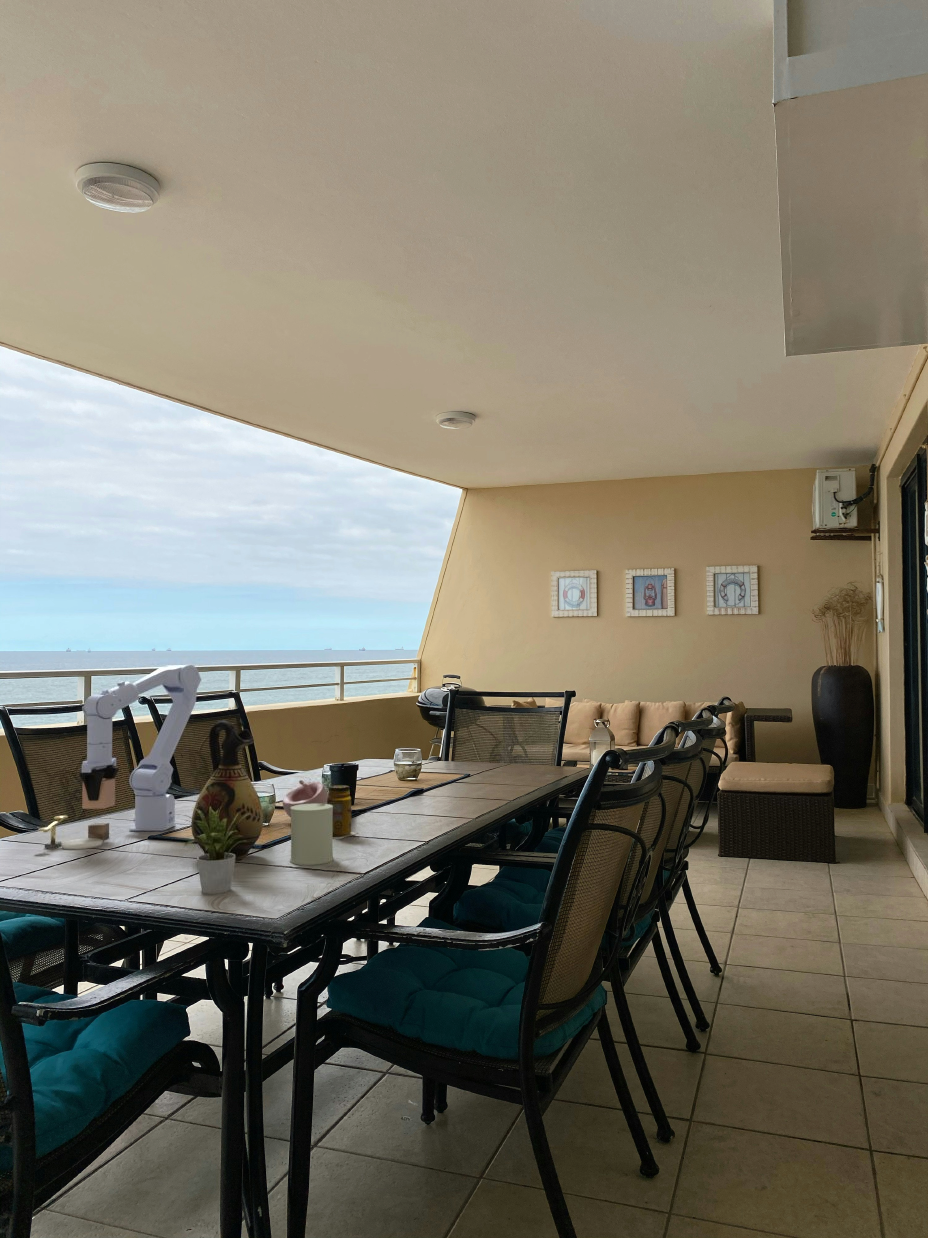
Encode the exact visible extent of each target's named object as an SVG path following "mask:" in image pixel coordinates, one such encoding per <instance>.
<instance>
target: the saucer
mask: <svg viewBox="0 0 928 1238" xmlns="http://www.w3.org/2000/svg"><path fill="white" fill-rule="evenodd" d="M103 841H104V840H102V839H96V838H88V837H87V838H76V839H71V840H66V841H63V842H61V846H60V847H62V848H61V849H63V848H64V849H63V850H84V849H86V850H87V849H92V848H98V847H100V846H102V845H103V843H104V842H103Z"/></svg>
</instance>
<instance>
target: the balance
mask: <svg viewBox="0 0 928 1238" xmlns="http://www.w3.org/2000/svg"><path fill="white" fill-rule="evenodd" d="M68 817H69V816H68V815H56V816H53V820H55V821H53V822H52V823H50V824H49V825H48V826H45V827H41V828H40V827H39V828H38V832H43V833H48V832H50V841H49V842H46V843H45V844H44V849H45V848H47V849H48V848H55V849H57V848H59V847H58V846H60V847H61V843H62V841H56V835H57V833H56V828H57V827H56V826H57V825H58V824H60V823H61V822H63V820H64V819H65V820H66V819H68ZM56 847H57V848H56Z"/></svg>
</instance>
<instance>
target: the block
mask: <svg viewBox="0 0 928 1238" xmlns="http://www.w3.org/2000/svg"><path fill="white" fill-rule="evenodd" d="M87 838H96V839H102V840H103V841H104V840H106V839H108V838H110V822H93V823H91V824H89V825H87Z"/></svg>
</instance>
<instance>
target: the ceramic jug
mask: <svg viewBox="0 0 928 1238" xmlns="http://www.w3.org/2000/svg"><path fill="white" fill-rule="evenodd" d="M222 731H224V733H225V737H224V739H223V741H222V743H221V744H220V734H221V732H222ZM254 741H255V740H254V737H253V734H252V732H251V731H249V729H247V728H244V729H242V730H241V731H239V732H238V731H237V728H236V727H235V725H234V723H233V722H230V721H228V720H224V719H223V720H219V721H217V722H215V723H214V724H213V725H212V726H211V728H210V729H209V732H208V747H209V752H210V758H211V759H210V760H211V764H212V772H211V775H210V777H209V779H208V780H207V781H206V783H205V785H204V787H203V788H202V790H201V792H200V793H199V795H198V797H197V799H196V802H195V804H194V807H193V810H192V815H191V818H193V819H194V820H195V821H196V822H197V821H202V819H201V816H200V814H199V813H198V811H197V810H196V809H198V810H200V811H201V812H202V813H203V815H204V816H205V819H206V822H207V824H208V827H209V829H210V823H209V808H210V807H211V809H212V810H213V811H214V812H216V811H217V810H218V809H219V810H220V812H219V810H218V812H219V820H220V822H221V821H222V820H223V819H225V818H227V821H226V830H225V834H224V836H225V835H226V832H227V830H228V828H229V827H230V825H231V823H232V821H233V820H234V818H235V817H236V815H237V814H238V813H239V814H238V815H237V817H236V819H235V821H234V823H233V824H232V826H231V828H230V829H229V832H230V831H231V830H232V831H234V832H232V833H231V834H230V835H229V836H228V838H227V840H226V842H227V841H228V840H229V839H230V838H231V837H233V836H237V835H240V836H242V837H239V838H237V839H235V840H234V841H233V842H232V843H231V844H230V846H229V847H228V848H227V850H226V852H225V853H228V852H229V850H230V849H231V847H232V846H233V845H235V844H236V843H238V842H240V841H243V840H246V841H243V842H240V843H238V844H236V845H235V846H234V847H233V848H232V849H231V851H230V852H229V853H232V854H235V862H239V861H242V860H243V859H247V858H248V854H249V852H250V851H251V849H252V848H253V847H254V845H255V844H256V843H257V842H258V840H259V838H260V836H261V834H262V831H263V827H264V815H263V808H262V804H261V803H262V802H261V801H260V796H259V795H258V791H257V789H256V788H255V786H254V785H253V782H252V781H251V779H250V778H249V776H248V774H247V773H246V772H245V770H244V769H243V767H242V765H241V763H240V760H239V751H240V750H242V749H243V748H246V747H247V746H249V745H252V744H254ZM221 750H222V753H221ZM221 806H222V807H221ZM194 808H196V809H194ZM220 808H221V809H220ZM218 812H217V815H218ZM250 813H251V814H250ZM247 814H248V815H247ZM245 815H246V816H245ZM244 816H245V817H244ZM243 817H244V818H243ZM193 819H191V822H192V823H193V824H194V825H195V826H196V827H197V828H196V827H195V826H194V825H193V824H192V823H191V822H190V825H191V828H190V829H191V835H192V837H193V839H194V841H200V842H203V841H202V839H200V838H199V837H197V836H200V835H202V834H204V832H203V831H202V829H201V828H200V827H199V826H198V825H196V824H197V823H198V822H197V823H196V822H195V821H194V820H193ZM198 824H199V823H198ZM234 826H235V827H234ZM233 827H234V828H233ZM232 828H233V829H232ZM197 829H198V830H199V831H198V830H197ZM236 831H237V832H236ZM200 833H201V834H200ZM200 842H196V845H197V846H198V847H199V848H200V850H201V851H202V852H203V855H204V854H209V853H208V850H206V848H205V846H204V845H203V844H202V843H200ZM203 843H204V842H203ZM225 844H226V843H225Z"/></svg>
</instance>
